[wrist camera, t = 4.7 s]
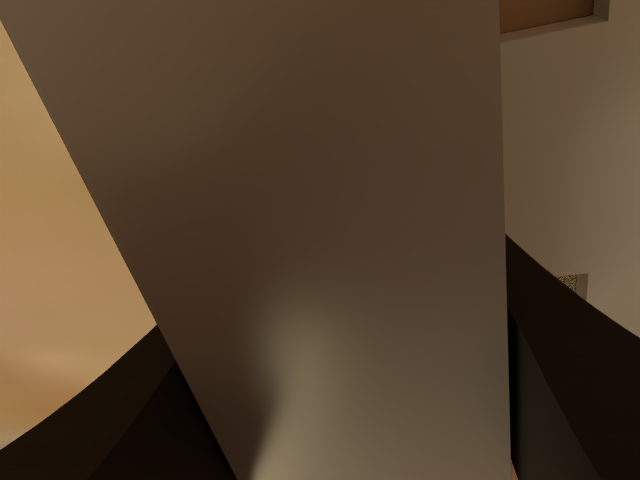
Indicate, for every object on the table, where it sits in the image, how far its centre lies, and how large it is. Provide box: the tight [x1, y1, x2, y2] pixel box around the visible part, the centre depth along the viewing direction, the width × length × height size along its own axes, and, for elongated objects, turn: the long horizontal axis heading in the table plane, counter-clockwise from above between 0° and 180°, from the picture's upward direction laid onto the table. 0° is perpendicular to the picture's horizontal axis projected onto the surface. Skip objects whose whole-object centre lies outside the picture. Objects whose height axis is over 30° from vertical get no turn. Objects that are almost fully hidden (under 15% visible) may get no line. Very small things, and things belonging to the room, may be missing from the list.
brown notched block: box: [0, 0, 511, 480], centre depth 9 cm, size 14×4×6 cm, turn 12°
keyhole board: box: [500, 0, 640, 338], centre depth 12 cm, size 20×15×1 cm
